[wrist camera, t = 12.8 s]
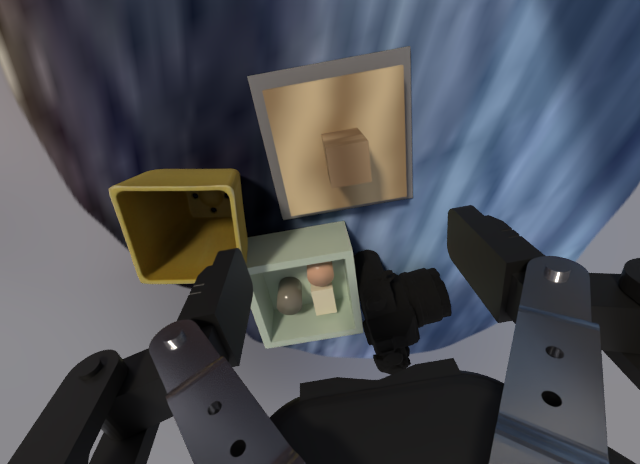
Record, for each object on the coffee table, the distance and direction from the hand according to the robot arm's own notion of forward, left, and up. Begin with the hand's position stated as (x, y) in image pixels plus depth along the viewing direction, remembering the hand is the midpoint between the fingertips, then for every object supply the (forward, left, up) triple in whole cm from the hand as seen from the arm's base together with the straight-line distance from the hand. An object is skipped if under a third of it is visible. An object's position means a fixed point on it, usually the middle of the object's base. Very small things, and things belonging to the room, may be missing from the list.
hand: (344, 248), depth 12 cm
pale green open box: (+4, +15, -20) cm, 26 cm away
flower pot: (+12, +4, -21) cm, 24 cm away
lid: (-2, +1, -19) cm, 19 cm away
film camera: (-6, +20, -21) cm, 30 cm away
